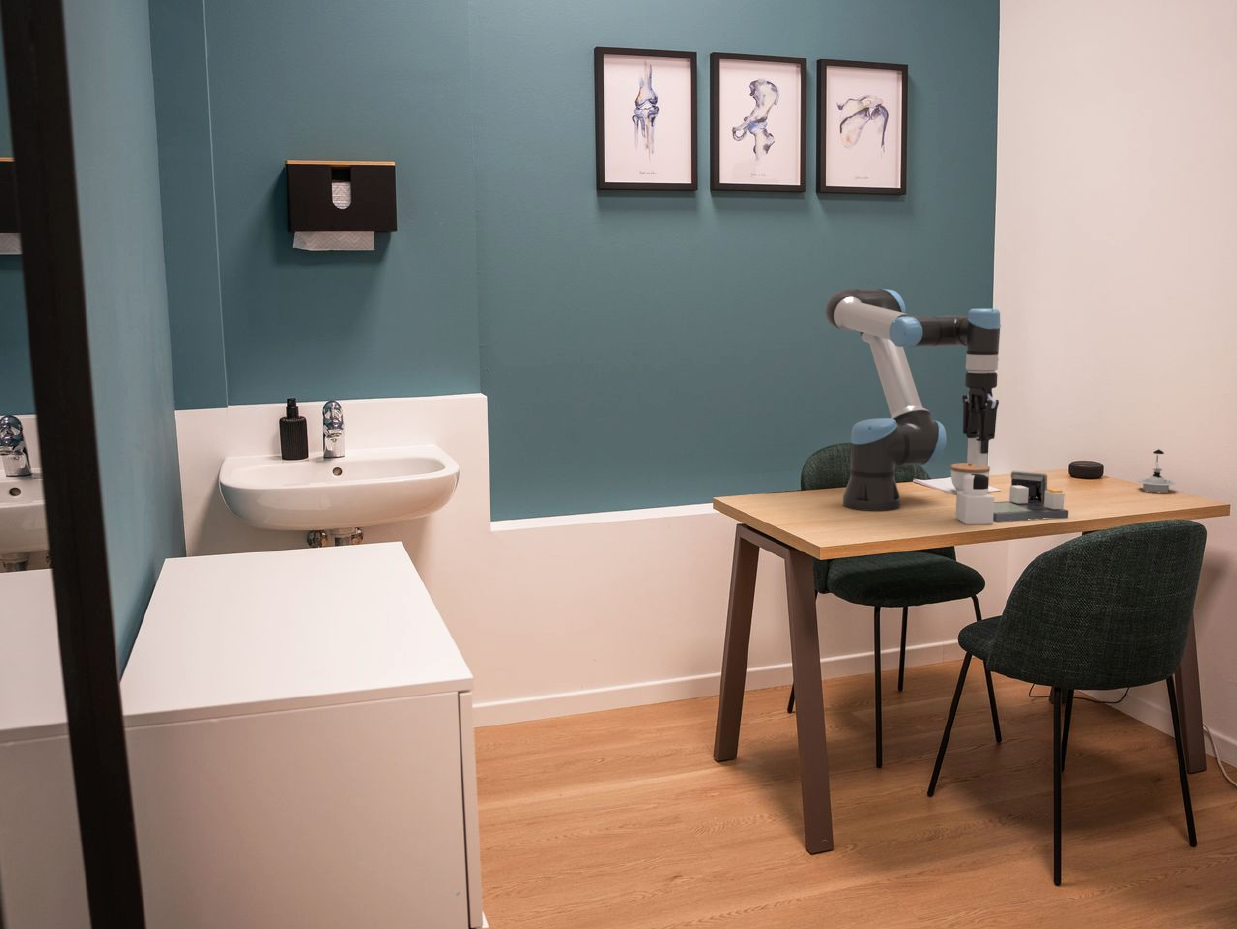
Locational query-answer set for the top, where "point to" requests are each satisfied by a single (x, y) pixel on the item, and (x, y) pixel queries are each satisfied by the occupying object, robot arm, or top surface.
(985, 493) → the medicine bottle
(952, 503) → the top surface
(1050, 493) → the block
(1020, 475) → the electrical switch
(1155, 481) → the grey stand with stem
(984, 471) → the lidded jar
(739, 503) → the top surface
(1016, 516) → the panel
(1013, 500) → the breaker
